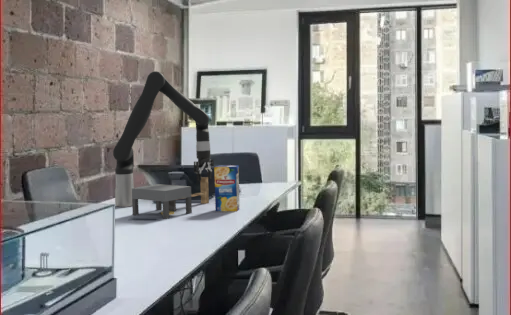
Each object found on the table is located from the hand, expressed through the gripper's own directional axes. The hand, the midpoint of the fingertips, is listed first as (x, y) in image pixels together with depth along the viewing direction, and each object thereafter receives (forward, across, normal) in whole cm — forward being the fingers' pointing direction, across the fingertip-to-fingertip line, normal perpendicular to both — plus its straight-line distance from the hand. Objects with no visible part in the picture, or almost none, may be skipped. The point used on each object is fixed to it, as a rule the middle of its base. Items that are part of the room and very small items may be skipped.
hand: (204, 179), depth 311 cm
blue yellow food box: (+13, +13, +25) cm, 31 cm away
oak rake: (+13, +13, 0) cm, 18 cm away
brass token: (+13, +36, +6) cm, 38 cm away
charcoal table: (+13, +37, +3) cm, 39 cm away
